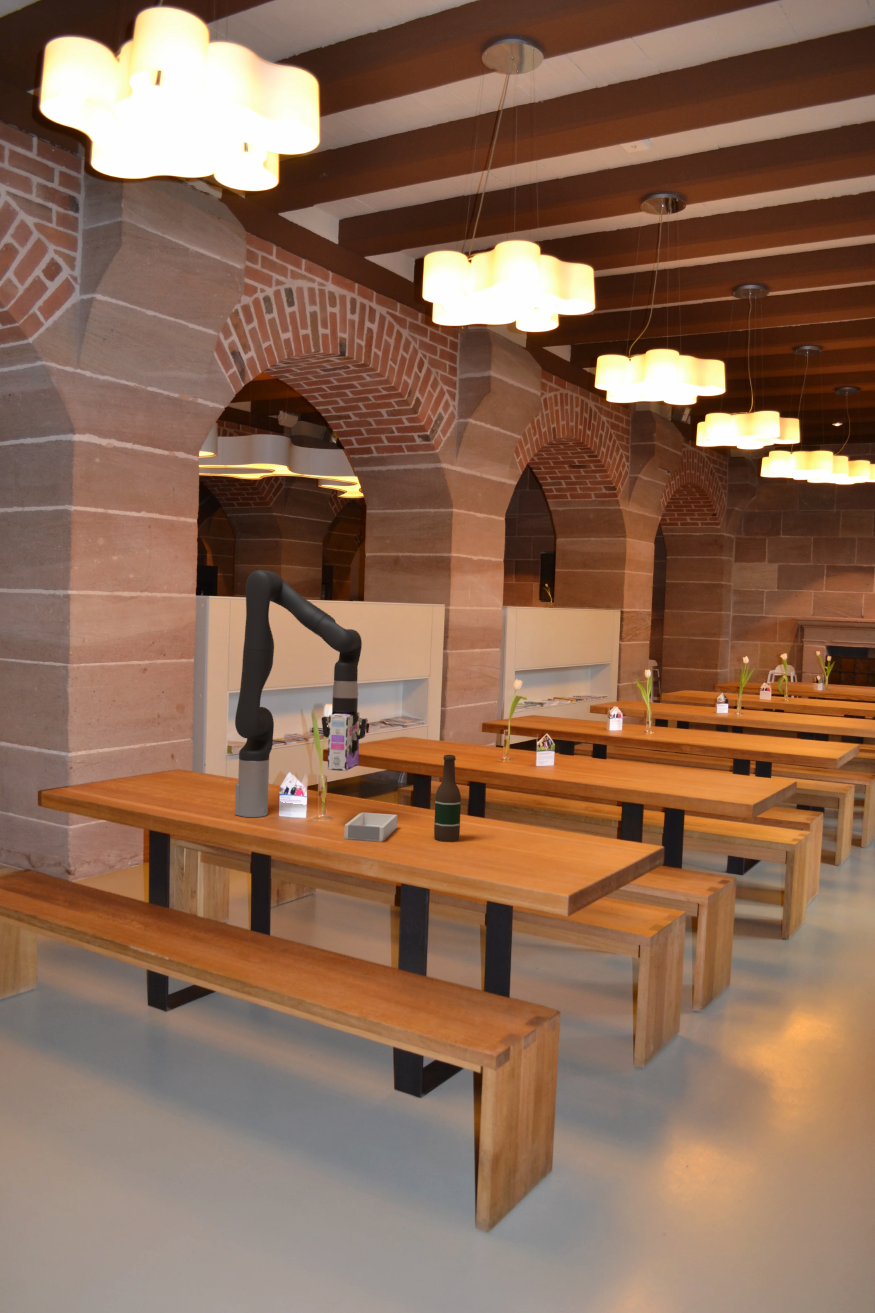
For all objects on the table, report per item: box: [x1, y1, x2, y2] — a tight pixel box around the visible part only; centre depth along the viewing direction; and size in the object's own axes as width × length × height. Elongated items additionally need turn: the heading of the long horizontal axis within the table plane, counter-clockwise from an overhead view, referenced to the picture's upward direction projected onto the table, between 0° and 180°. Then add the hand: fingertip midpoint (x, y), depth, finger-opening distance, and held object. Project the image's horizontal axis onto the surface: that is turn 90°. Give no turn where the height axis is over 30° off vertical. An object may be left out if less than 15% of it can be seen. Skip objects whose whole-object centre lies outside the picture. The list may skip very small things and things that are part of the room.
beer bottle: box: [433, 754, 462, 843], centre depth 282 cm, size 8×8×24 cm
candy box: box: [327, 711, 360, 772], centre depth 296 cm, size 14×6×16 cm, turn 169°
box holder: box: [343, 812, 398, 843], centre depth 286 cm, size 11×19×4 cm, turn 171°
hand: (343, 751), depth 297 cm, fingers closed on candy box, 6 cm apart
